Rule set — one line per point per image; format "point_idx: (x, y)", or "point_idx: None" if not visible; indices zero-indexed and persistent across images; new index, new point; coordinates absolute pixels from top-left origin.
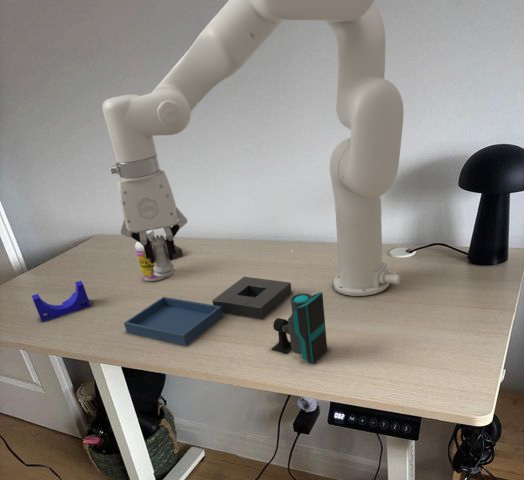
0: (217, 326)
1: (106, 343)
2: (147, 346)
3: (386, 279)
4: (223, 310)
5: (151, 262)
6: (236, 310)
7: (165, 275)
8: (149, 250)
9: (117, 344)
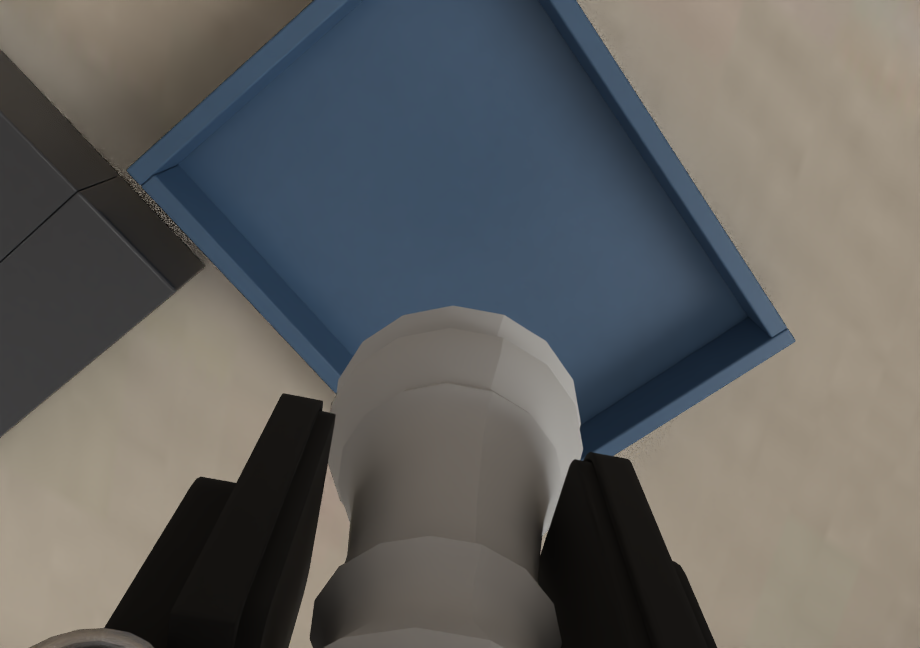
0: (218, 39)
1: (909, 254)
2: (707, 50)
3: None
4: (140, 208)
5: (620, 461)
6: (42, 117)
7: (466, 313)
8: (653, 601)
9: (859, 200)
